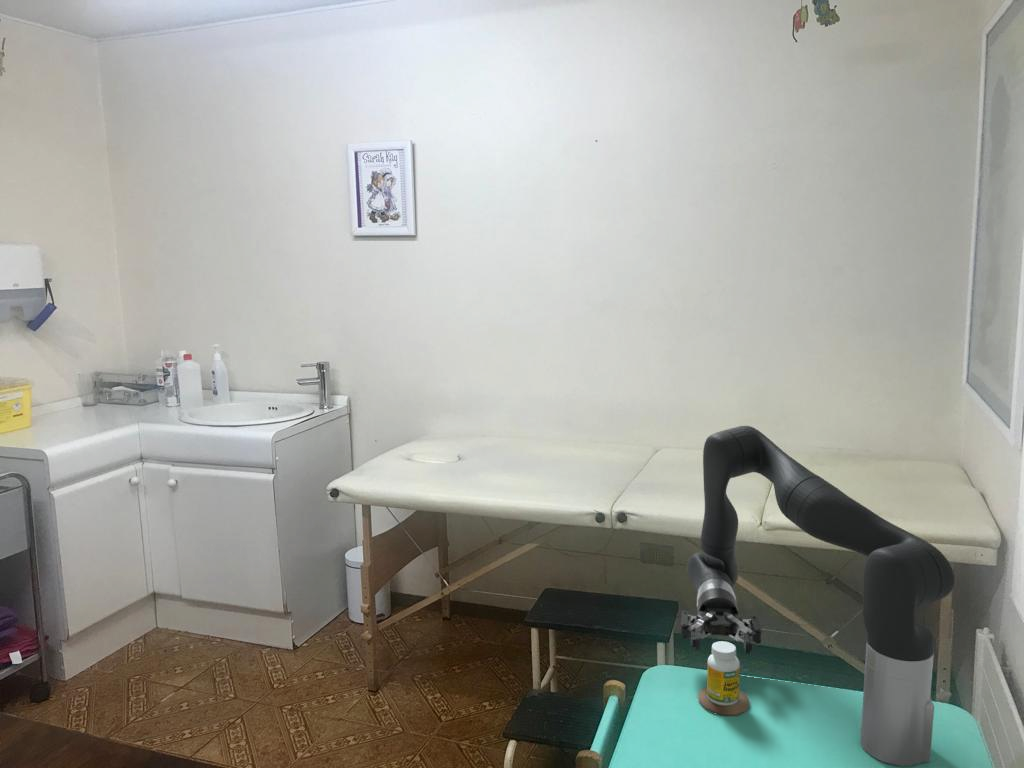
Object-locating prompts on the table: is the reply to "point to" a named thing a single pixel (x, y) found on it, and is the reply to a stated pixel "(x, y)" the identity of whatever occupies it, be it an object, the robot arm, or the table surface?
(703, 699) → the walnut coaster
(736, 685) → the supplement bottle
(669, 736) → the table surface
